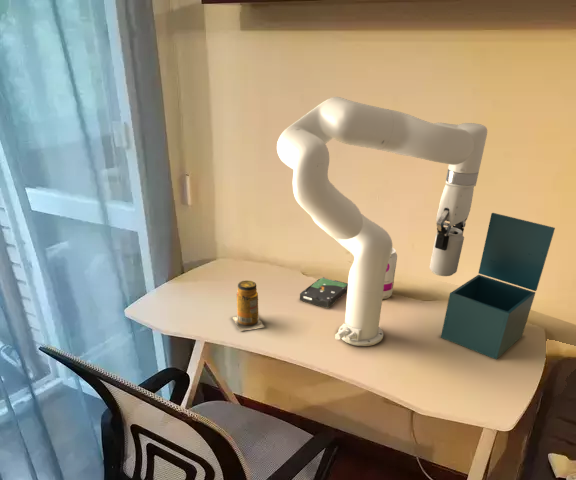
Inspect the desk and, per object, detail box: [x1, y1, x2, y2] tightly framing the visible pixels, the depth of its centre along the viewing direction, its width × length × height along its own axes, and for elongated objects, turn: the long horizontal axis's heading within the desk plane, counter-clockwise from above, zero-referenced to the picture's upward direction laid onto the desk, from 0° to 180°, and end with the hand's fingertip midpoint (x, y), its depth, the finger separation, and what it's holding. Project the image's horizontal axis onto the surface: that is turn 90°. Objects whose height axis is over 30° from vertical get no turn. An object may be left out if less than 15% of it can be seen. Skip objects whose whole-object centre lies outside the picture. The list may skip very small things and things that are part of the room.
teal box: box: [440, 274, 537, 360], centre depth 149 cm, size 17×17×14 cm
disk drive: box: [299, 276, 348, 309], centre depth 172 cm, size 10×3×15 cm
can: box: [429, 226, 465, 277], centre depth 148 cm, size 8×8×12 cm
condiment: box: [232, 280, 265, 331], centre depth 155 cm, size 7×8×12 cm
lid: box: [478, 212, 556, 292], centre depth 147 cm, size 17×17×7 cm
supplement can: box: [382, 247, 398, 300], centre depth 170 cm, size 8×8×15 cm
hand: (448, 244), depth 147 cm, fingers closed on can, 7 cm apart
